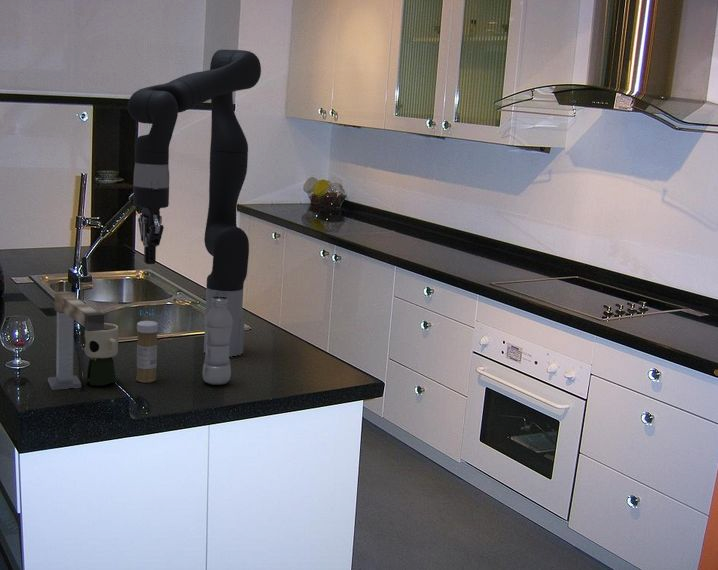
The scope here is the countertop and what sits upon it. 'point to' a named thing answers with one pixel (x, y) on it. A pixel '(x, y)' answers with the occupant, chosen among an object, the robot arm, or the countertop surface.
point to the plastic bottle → (217, 342)
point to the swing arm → (78, 311)
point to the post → (64, 355)
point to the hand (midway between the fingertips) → (149, 263)
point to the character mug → (101, 354)
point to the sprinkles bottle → (146, 351)
